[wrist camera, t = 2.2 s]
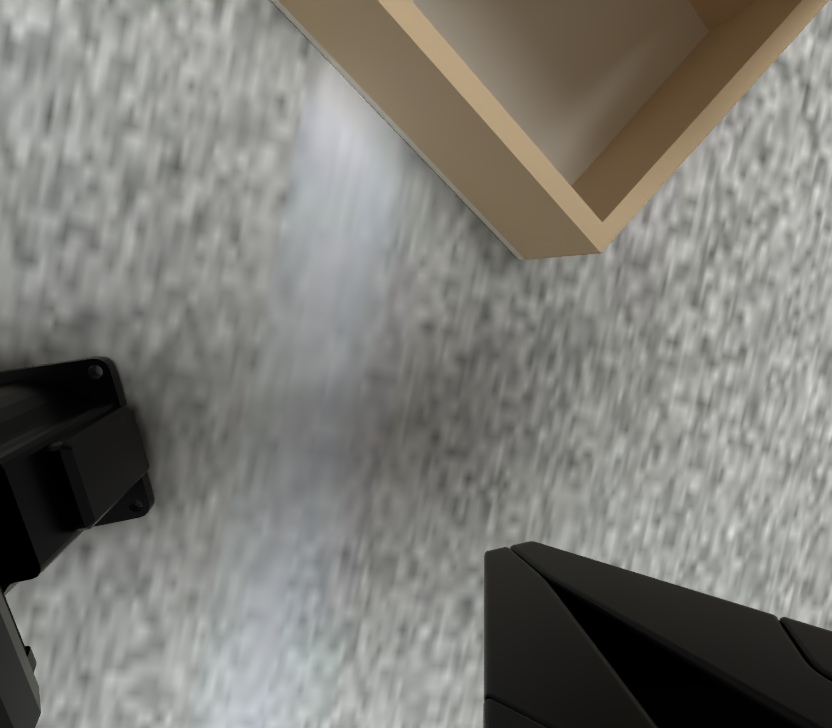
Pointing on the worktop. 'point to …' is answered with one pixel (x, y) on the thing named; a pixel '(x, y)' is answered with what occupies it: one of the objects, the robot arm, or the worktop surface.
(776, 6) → the mailer box
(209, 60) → the worktop surface
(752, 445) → the worktop surface
